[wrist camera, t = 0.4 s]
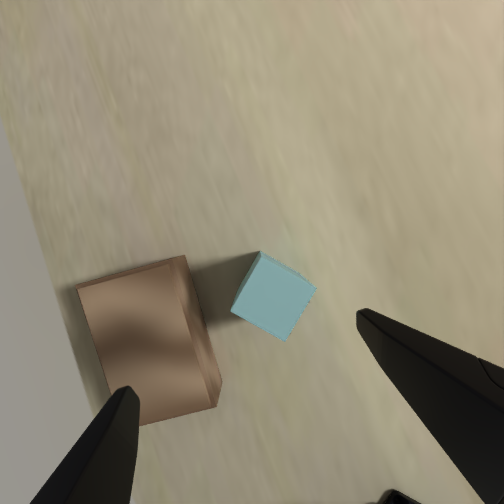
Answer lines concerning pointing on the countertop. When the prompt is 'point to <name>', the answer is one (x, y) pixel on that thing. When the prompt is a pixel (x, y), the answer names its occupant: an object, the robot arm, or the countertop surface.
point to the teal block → (272, 296)
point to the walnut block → (153, 338)
